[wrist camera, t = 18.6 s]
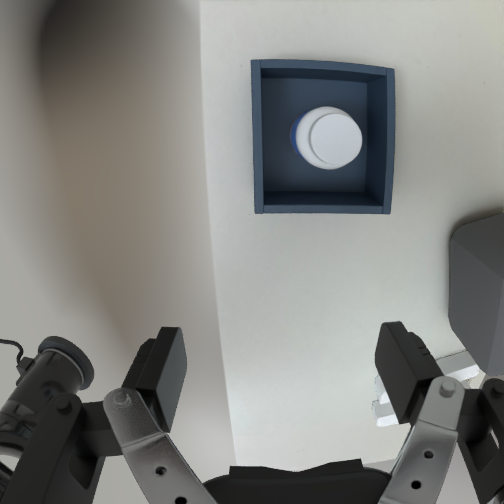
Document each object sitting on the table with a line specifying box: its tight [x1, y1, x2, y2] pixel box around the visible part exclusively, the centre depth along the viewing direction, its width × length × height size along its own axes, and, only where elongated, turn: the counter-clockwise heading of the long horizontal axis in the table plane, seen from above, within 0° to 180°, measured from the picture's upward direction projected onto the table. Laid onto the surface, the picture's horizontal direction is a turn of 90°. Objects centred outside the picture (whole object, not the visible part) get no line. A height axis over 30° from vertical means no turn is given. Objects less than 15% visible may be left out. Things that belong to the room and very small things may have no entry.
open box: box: [251, 59, 395, 214], centre depth 29 cm, size 13×14×7 cm
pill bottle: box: [289, 106, 362, 169], centre depth 27 cm, size 6×5×10 cm
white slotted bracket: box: [372, 351, 480, 427], centre depth 40 cm, size 10×18×11 cm, turn 100°
